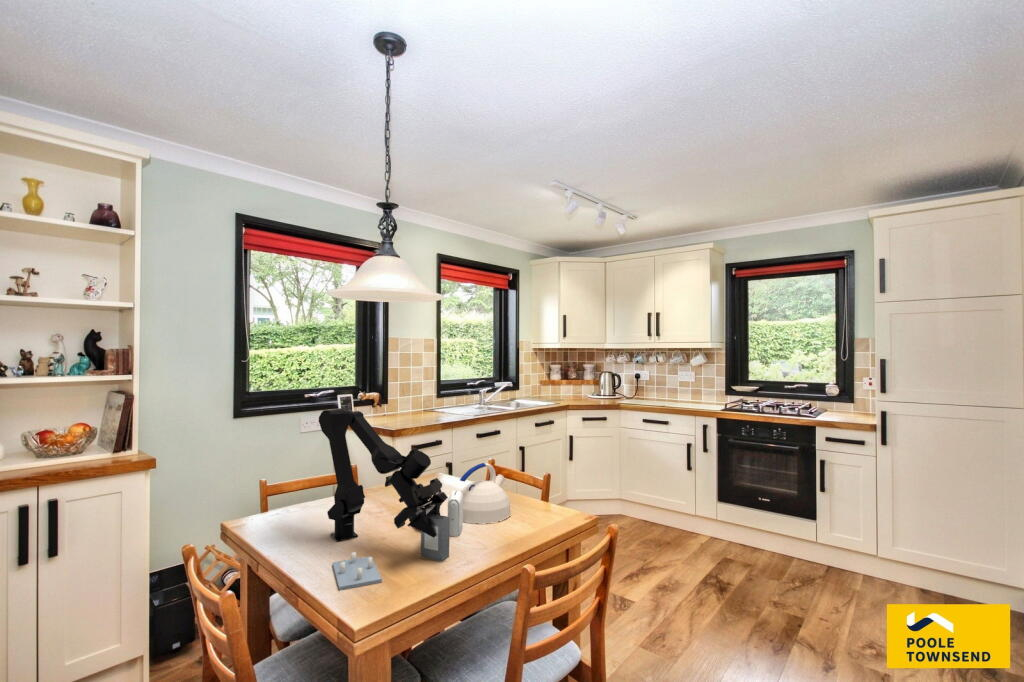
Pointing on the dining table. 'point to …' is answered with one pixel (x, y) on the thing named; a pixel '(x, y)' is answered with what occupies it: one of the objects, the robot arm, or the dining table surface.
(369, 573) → the grey peg board
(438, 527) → the block
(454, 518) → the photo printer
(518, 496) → the dining table surface
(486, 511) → the kettle
